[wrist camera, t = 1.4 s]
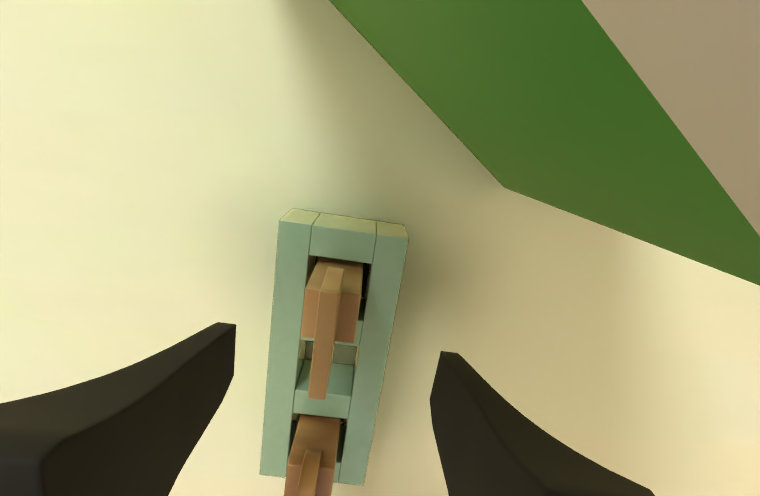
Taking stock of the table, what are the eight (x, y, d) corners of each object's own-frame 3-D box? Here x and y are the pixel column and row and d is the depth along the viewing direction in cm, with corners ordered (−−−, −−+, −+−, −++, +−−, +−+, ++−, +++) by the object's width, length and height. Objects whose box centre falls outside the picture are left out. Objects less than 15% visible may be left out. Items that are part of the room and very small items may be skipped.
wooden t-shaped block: (317, 301, 22) (285, 396, 14) (325, 228, 21) (295, 287, 13) (356, 306, 22) (346, 403, 14) (367, 234, 21) (363, 296, 13)
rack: (272, 436, 25) (259, 475, 22) (292, 208, 21) (278, 219, 18) (364, 446, 26) (363, 486, 23) (404, 224, 21) (408, 238, 18)
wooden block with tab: (303, 425, 25) (269, 565, 17) (308, 375, 24) (275, 499, 16) (338, 429, 25) (321, 569, 17) (345, 380, 24) (331, 505, 16)
